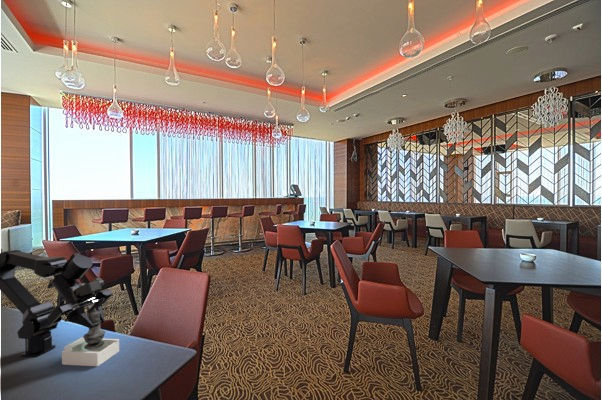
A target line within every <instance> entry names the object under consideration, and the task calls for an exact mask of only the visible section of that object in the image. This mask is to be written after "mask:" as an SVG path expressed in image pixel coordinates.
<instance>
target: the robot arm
mask: <svg viewBox="0 0 602 400" xmlns="http://www.w3.org/2000/svg"><path fill="white" fill-rule="evenodd" d="M92 266H93V260H92V259H91V258H89V257H88V256H86V255H82V254H80V252H77V253H72V254H71V255H70V257H69V259H67V258H66V257H64V256H45V257H44V256H40V255H37V254H32V253H29V252H28V253H27V252H23V251H21V250H19V249H14V250H13V249H12V250H6V251H2V252H0V291H1V293H3V295H4V296H6V298H7V299H8V300H9V301H10V302H11V303H12V304H13V306H15V308H17V310H18V311H20V313H21V314H22V319H21V320H22V322H21V323H22V326H21V327H20V328H19V329H18V331H17V333H16V334H17V336H18V339H23V340H24V341H25V344H24V346H25V351H24V352H22V353H20V354H19V355H20V356H21V357H39V356H41V355H42V354H45V353H47V352H49V351H51V350H53V349H54V348H56V344H53V337H52V330H56V329H57V328H58V324H59V323H60V322H61V321H62V319H63V317H62V316H65V319H64V322H65V323H66V322H70V323H73V324H77V325H81V326H83V327H85V328H88V329H89V328H90V329H92V328H93V327H94V325H93V323H92V322H91V320H90V319H89V316H88V314H90V312H92V311H93V310H94V308H96V310H98V311H100V320H101V322H100V324H104V322H106V320H105V315H104V311H103V305H104V304H106V302H107V301H108V300H109V299H110V298H111V297H112V296H113V294H114V292H113V291H112V290H111V289H110V288H106V289H103V288H102V287H104V285H105V282H104V280H103V279H102V278H101V277H95V279H92V281H89V282H88V283H85V282H83V283H81V282H79V280H80V279H81V278H83V276H84V275H85V274H86V273H87V272H88V271H89V269H91V267H92ZM17 267H20V268H25V269H29V270H31V271H34V274H35V275H36V276H39V277H40V278H44V279H46V278H49V277H53V278H52V279H49V281H48V282H49V283H48V284H47V289H48V290H49V289H53V288H54V289H56V291H57V292H58V294H59V296H60V298H59V301H60V302H63V301H64V302H65V303H63V304H60V305H57V306H54V305H53V303H52V302H50V301H47V302H44V303H41V302H40V301H38V299H37V298H36V297H35V296H34V295H33V294H32V293H31V292H30V291H29V290H28V289H27V288H26V287H25V286H24V285H23V284H22V283H21V282H20V280H19V279H17V277H16V276H15V274H16V268H17ZM54 276H55V277H54ZM102 289H103V290H102ZM96 292H97V293H96ZM95 293H96V294H95ZM86 307H87V308H88V310H87V313H88V314H87V313H86V312H85V308H86Z"/></svg>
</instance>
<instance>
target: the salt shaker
mask: <svg viewBox="0 0 602 400" xmlns="http://www.w3.org/2000/svg"><path fill="white" fill-rule="evenodd" d="M88 314H89V313H88ZM88 317H89V319H90V320H91V322H92V323H93V325H94V327H93V328H92V329H90V328H88V331H87V333H85V334H83V336H82V337H83V338H84V340H85V342H86V343H88V344H87V345H85V347H84V348H85V349H95V348H98V347H100V346H102V345H103V344H104V341H101V340H102V339H104V338H105V334H106V330H104V329H101V328H102V327H101V323H100V322H101V320H100V311H98V310H96V308H94V310H93V311H92V312H90V314H89V316H88Z"/></svg>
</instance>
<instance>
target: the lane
mask: <svg viewBox="0 0 602 400" xmlns="http://www.w3.org/2000/svg"><path fill="white" fill-rule="evenodd" d="M82 341H84V338H83V336H82V337H80V338H78V339H77V340H75V341H72V342H70V343H69V344H67V345H65V346H63V347H64V348H63V350H62V351H61V365H65V366H82V367H85V366H86V367H99V366H101V365H102V364H103V363H105V362H106V361H107V360H109V359H111V358H112V357H113V356H115V355H116V354H118V353H119V352H120V339H119V338H103V339H102V340H101V341H104V344H103V345H102V346H100V347H98V348H95V349H91V350H89V351H72V347H74V346H75V345H77V344H79V343H81V342H82Z"/></svg>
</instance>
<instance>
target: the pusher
mask: <svg viewBox="0 0 602 400" xmlns="http://www.w3.org/2000/svg"><path fill="white" fill-rule="evenodd" d="M87 344H88V343H86V342H85V340H84V341H82V342H81V343H79V344H77V345H75V346H74V347H72V351H89V350H91V349H85V348H84V347H85V345H87Z"/></svg>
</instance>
